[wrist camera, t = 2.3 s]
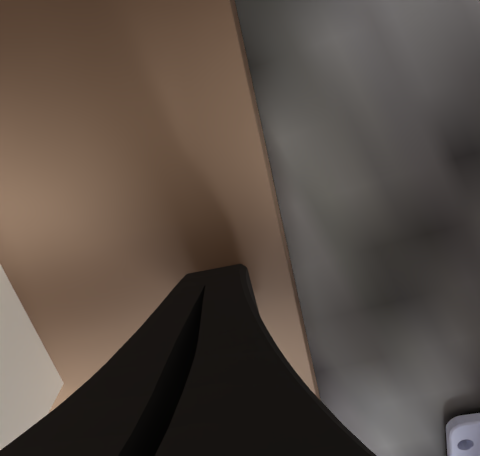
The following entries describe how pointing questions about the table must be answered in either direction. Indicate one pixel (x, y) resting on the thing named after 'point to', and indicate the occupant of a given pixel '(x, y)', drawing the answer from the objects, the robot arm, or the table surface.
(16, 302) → the block
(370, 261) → the table surface
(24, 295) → the deck
